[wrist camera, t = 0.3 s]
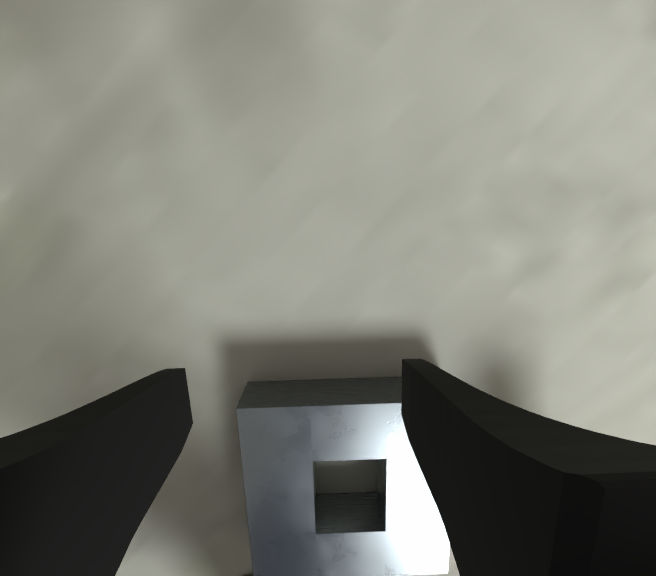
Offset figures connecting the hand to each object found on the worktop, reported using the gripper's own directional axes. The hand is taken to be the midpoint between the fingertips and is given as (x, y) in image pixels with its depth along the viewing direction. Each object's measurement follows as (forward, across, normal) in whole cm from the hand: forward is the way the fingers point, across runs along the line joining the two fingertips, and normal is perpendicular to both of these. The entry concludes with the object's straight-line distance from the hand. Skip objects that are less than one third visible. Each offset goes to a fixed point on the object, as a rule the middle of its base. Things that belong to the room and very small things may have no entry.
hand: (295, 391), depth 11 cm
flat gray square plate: (+10, -2, +12) cm, 16 cm away
